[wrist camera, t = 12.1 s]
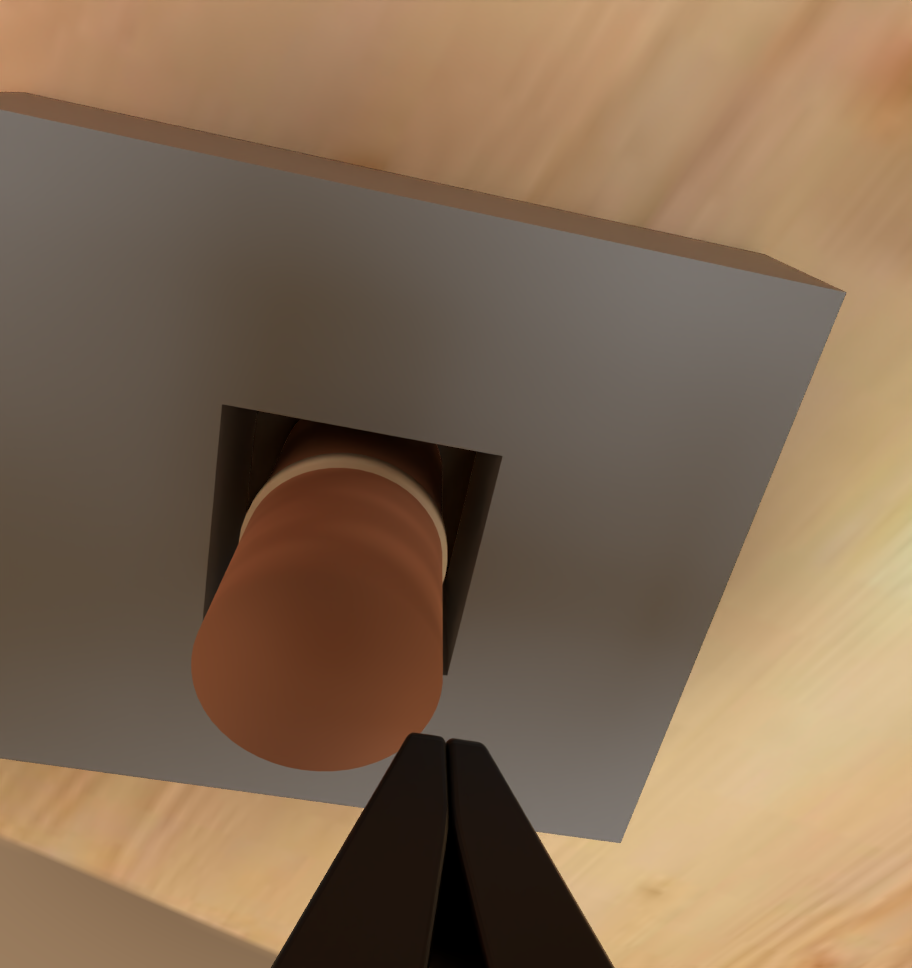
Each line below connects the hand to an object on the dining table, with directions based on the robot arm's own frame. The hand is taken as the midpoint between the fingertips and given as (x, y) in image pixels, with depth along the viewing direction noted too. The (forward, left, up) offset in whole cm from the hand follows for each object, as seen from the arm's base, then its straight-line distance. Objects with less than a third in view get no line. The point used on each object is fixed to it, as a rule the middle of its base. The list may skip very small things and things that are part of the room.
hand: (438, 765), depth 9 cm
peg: (+2, +2, -12) cm, 12 cm away
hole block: (+2, +2, -12) cm, 12 cm away
